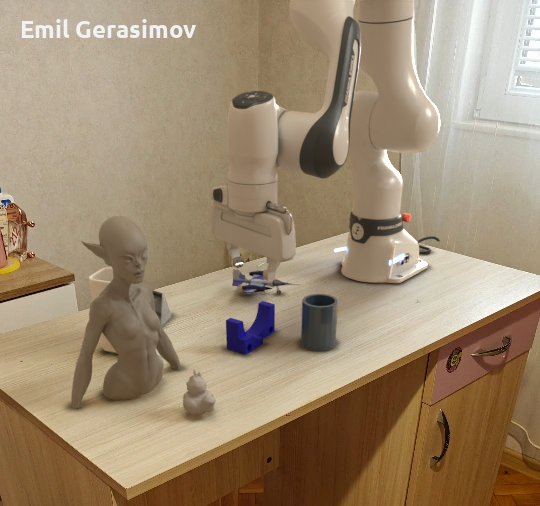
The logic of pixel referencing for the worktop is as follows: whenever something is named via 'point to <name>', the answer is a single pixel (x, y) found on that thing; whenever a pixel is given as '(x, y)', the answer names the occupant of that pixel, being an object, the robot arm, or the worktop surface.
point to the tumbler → (319, 322)
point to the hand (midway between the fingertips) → (252, 273)
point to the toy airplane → (256, 282)
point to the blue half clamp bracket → (251, 330)
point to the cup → (97, 285)
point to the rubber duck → (198, 396)
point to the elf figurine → (124, 319)
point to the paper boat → (161, 307)
